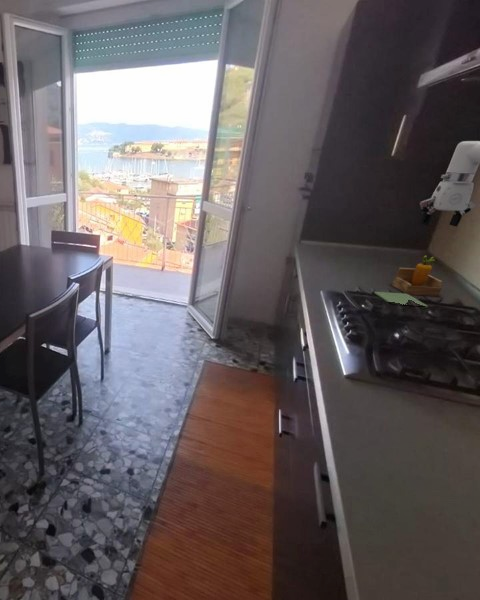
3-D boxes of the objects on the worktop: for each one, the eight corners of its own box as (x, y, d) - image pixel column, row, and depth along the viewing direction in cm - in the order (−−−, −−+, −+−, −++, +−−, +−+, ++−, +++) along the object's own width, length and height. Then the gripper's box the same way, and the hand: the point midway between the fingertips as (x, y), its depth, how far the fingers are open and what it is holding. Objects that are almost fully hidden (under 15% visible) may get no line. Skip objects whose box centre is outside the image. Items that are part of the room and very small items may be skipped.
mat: (427, 307, 132) (428, 306, 131) (391, 305, 134) (391, 303, 133) (407, 295, 142) (407, 293, 142) (373, 292, 144) (374, 291, 144)
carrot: (419, 289, 148) (434, 254, 142) (424, 293, 144) (439, 258, 138) (404, 287, 150) (418, 253, 144) (408, 291, 146) (423, 256, 140)
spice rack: (438, 296, 141) (446, 277, 138) (406, 294, 143) (414, 275, 140) (421, 287, 150) (428, 269, 147) (391, 285, 152) (398, 267, 149)
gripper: (438, 178, 127) (419, 226, 134) (495, 179, 124) (472, 228, 131) (423, 176, 134) (406, 222, 141) (477, 177, 131) (457, 224, 138)
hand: (438, 225), depth 136 cm, fingers open, 9 cm apart
